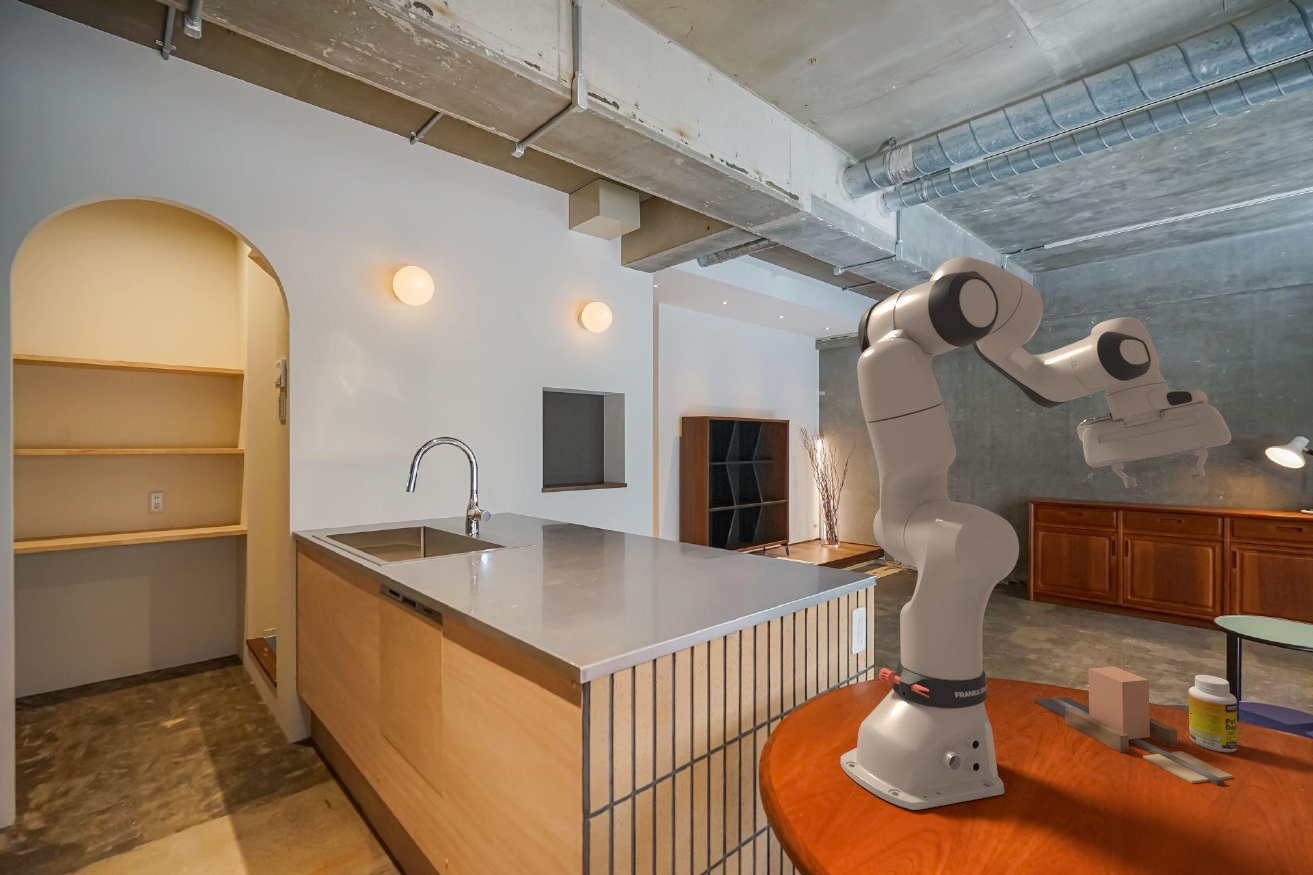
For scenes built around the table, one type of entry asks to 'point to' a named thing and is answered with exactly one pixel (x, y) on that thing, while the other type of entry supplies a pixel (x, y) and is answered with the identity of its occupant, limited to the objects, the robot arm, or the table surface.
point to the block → (1120, 700)
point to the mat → (1184, 771)
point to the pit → (1058, 708)
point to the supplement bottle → (1213, 714)
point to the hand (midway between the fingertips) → (1164, 482)
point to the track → (1121, 740)
